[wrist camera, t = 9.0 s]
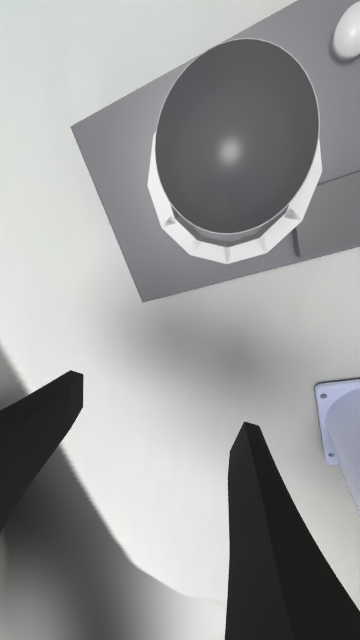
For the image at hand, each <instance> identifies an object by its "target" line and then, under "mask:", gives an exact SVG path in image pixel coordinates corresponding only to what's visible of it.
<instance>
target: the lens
mask: <svg viewBox="0 0 360 640" xmlns="http://www.w3.org/2000/svg"><path fill="white" fill-rule="evenodd" d="M319 131H320V117H319V107H318V102H317V97H316V94H315V91H314V88H313V85H312V83H311V81H310V79H309V77H308V74H307V73H306V71H305V70H304V69H303V67H302V66H301V64H300V63H299V62H298V61H297V60H296V59H295V58H294V57H293V56H292V55H291V54H290V53H289V52H287V51H286V50H284V49H283V48H282V47H280V46H278V45H276V44H273V43H271V42H269V41H264V40H260V39H252V38H242V39H234V40H230V41H227V42H224V43H220V44H218V45H216V46H214V47H212V48H210V49H208V50H207V51H205V52H204V53H202V54H201V55H199V56H198V57H197V58H196V59H195V60H193V61H192V62H191V63H190V64H189V65H188V66H187V67H186V68H185V69H184V71H183V72H182V73H181V74H180V75H179V77H178V78H177V80H176V81H175V83H174V84H173V86H172V87H171V89H170V91H169V93H168V95H167V97H166V99H165V101H164V104H163V106H162V109H161V112H160V115H159V119H158V123H157V128H156V135H155V163H156V169H157V174H158V177H159V181H160V184H161V186H162V189H163V191H164V193H165V195H166V197H167V199H168V201H169V202H170V204H171V205H172V206H173V208H174V209H175V210H176V211H177V212H178V214H179V215H180V216H181V217H183V218H184V219H185V220H186V221H187V222H189V223H190V224H192V225H194V226H195V227H197V228H199V229H202V230H204V231H207V232H211V233H216V234H238V233H243V232H247V231H250V230H253V229H255V228H258V227H260V226H262V225H264V224H265V223H267V222H269V221H270V220H272V219H273V218H275V217H276V216H277V215H278V214H280V213H281V212H282V211H283V210H284V209H285V208H286V207H287V206H288V205H289V204H290V203H291V201H292V200H293V199H294V198H295V196H296V195H297V194H298V192H299V191H300V189H301V188H302V186H303V184H304V183H305V181H306V179H307V177H308V175H309V172H310V170H311V168H312V165H313V162H314V159H315V156H316V152H317V147H318V141H319Z"/></svg>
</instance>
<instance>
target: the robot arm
mask: <svg viewBox="0 0 360 640" xmlns="http://www.w3.org/2000/svg"><path fill="white" fill-rule="evenodd" d="M315 393H316V400H317V407H318V414H319V421H320V428H321V435H322V442H323V449H324V456H325V461H326V463H327V464H328V465H340V468H341V470H342V473H343V475H344V478H345V480H346V483H347V485H348V488H349V490H350V493H351V495H352V498H353V500H354V503H355V505H356V508H357V510H358V513H359V515H360V379H356V380H348V381H339V382H331V383H322V384H318V385H317V386H316V387H315ZM321 394H325V395H321ZM82 408H83V374H81V373H77V372H74V371H71V370H70V371H69V372H67V373H65V374H63V375H62V376H60V377H58V378H57V379H55V380H53V381H52V382H50V383H48V384H47V385H45V386H43V387H42V388H40V389H38V390H37V391H35V392H33V393H31V394H30V395H28V396H26V397H24V398H23V399H21V400H19V401H17V402H16V403H14V404H12V405H10V406H8V407H6V408H4V409H2V410H0V532H1V531H2V529H3V527H4V525H5V524H6V522H7V520H8V519H9V517H10V515H11V514H12V512H13V510H14V509H15V507H16V506H17V504H18V502H19V501H20V499H21V498H22V496H23V494H24V492H25V491H26V489H27V488H28V486H29V485H30V484H31V482H32V481H33V479H34V478H35V476H36V475H37V473H38V472H39V471H40V470H41V468H42V467H43V466H44V464H45V463H46V461H47V460H48V459H49V457H50V456H51V455H52V453H53V452H54V451H55V449H56V448H57V446H58V445H59V444H60V442H61V441H62V440H63V438H64V437H65V435H66V434H67V433H68V431H69V430H70V428H71V427H72V425H73V423H74V422H75V420H76V418H77V416H78V415H79V413H80V411H81V409H82ZM228 502H229V537H230V560H229V580H228V598H227V614H226V630H225V640H360V611H359V610H358V608H357V607H356V605H355V604H354V602H353V601H352V599H351V598H350V596H349V595H348V593H347V592H346V590H345V589H344V587H343V586H342V584H341V583H340V581H339V580H338V578H337V577H336V575H335V573H334V572H333V570H332V569H331V567H330V565H329V564H328V562H327V561H326V559H325V557H324V556H323V554H322V552H321V551H320V549H319V547H318V546H317V544H316V542H315V541H314V539H313V537H312V535H311V534H310V532H309V530H308V528H307V527H306V525H305V523H304V521H303V519H302V517H301V516H300V514H299V512H298V510H297V508H296V506H295V504H294V502H293V500H292V498H291V496H290V494H289V492H288V490H287V488H286V486H285V484H284V482H283V480H282V478H281V476H280V473H279V471H278V469H277V467H276V465H275V462H274V460H273V458H272V456H271V453H270V451H269V449H268V446H267V444H266V441H265V439H264V436H263V434H262V431H261V429H260V427H259V426H258V425H255V424H251V423H248V422H244V423H243V425H242V427H241V429H240V432H239V434H238V436H237V438H236V440H235V442H234V444H233V446H232V448H231V450H230V457H229V470H228Z"/></svg>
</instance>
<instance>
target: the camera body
mask: <svg viewBox="0 0 360 640" xmlns="http://www.w3.org/2000/svg"><path fill="white" fill-rule="evenodd" d="M242 38H252V39H260V40H264V41H269V42H271V43H273V44H276V45H278V46H280V47H282V48H283V49H284V50H286V51H287V52H289V53H290V54H291V55H292V56H293V57H294V58H295V59H296V60H297V61H298V62H299V63H300V64H301V66H302V67H303V69H304V70H305V71H306V73H307V74H308V77H309V79H310V81H311V83H312V85H313V88H314V91H315V94H316V97H317V102H318V107H319V117H320V131H319V141H318V147H317V152H316V156H315V159H314V162H313V165H312V168H311V170H310V172H309V175H308V177H307V179H306V181H305V183H304V184H303V186H302V188H301V189H300V191H299V192H298V194H297V195H296V196H295V198H294V199H293V200H292V201H291V203H290V204H289V205H288V206H287V207H286V208H285V209H284V210H283V211H282V212H281V213H280V214H278V215H277V216H276V217H275V218H273V219H272V220H270V221H269V222H267V223H265V224H264V225H262V226H260V227H258V228H255V229H253V230H250V231H247V232H243V233H238V234H216V233H211V232H207V231H204V230H202V229H199V228H197V227H195V226H194V225H192V224H190V223H189V222H187V221H186V220H185V219H184V218H183V217H181V216H180V215H179V214H178V212H177V211H176V210H175V209H174V208H173V206H172V205H171V204H170V202H169V201H168V199H167V197H166V195H165V193H164V191H163V189H162V186H161V184H160V181H159V177H158V174H157V169H156V163H155V135H156V128H157V123H158V119H159V115H160V112H161V109H162V106H163V104H164V101H165V99H166V97H167V95H168V93H169V91H170V89H171V87H172V86H173V84H174V83H175V81H176V80H177V78H178V77H179V75H180V74H181V73H182V72H183V71H184V69H185V68H186V67H187V66H188V65H189V64H190V63H191V62H192V61H193V60H195V59H196V58H197V57H198V56H197V57H195V58H193V59H191V60H190V61H188V62H186V63H184V64H182V65H181V66H179V67H177V68H175V69H173V70H172V71H170V72H168V73H166V74H164V75H163V76H161V77H159V78H157V79H155V80H154V81H152V82H150V83H148V84H146V85H145V86H143V87H141V88H139V89H137V90H136V91H134V92H132V93H130V94H128V95H127V96H125V97H123V98H121V99H119V100H118V101H116V102H114V103H112V104H110V105H109V106H107V107H105V108H103V109H101V110H100V111H98V112H96V113H94V114H92V115H91V116H89V117H87V118H85V119H83V120H82V121H80V122H78V123H76V124H74V125H73V126H71V129H72V132H73V134H74V137H75V139H76V142H77V144H78V146H79V149H80V151H81V154H82V156H83V159H84V161H85V163H86V166H87V168H88V171H89V173H90V176H91V178H92V180H93V183H94V185H95V188H96V190H97V193H98V195H99V198H100V200H101V202H102V205H103V207H104V210H105V212H106V215H107V217H108V219H109V222H110V224H111V227H112V229H113V232H114V234H115V236H116V239H117V241H118V244H119V246H120V249H121V251H122V254H123V256H124V258H125V261H126V263H127V266H128V268H129V271H130V273H131V275H132V278H133V280H134V283H135V285H136V288H137V290H138V292H139V295H140V297H141V300H142V302H147V301H150V300H154V299H158V298H162V297H166V296H170V295H174V294H178V293H181V292H185V291H189V290H193V289H197V288H201V287H205V286H209V285H212V284H216V283H220V282H224V281H228V280H232V279H236V278H240V277H243V276H247V275H251V274H255V273H259V272H263V271H267V270H271V269H274V268H278V267H282V266H286V265H290V264H294V263H298V262H302V261H306V260H309V259H313V258H317V257H321V256H325V255H329V254H333V253H337V252H340V251H344V250H348V249H352V248H356V247H360V0H298V1H296V2H294V3H292V4H290V5H289V6H287V7H285V8H283V9H281V10H280V11H278V12H276V13H274V14H272V15H271V16H269V17H267V18H265V19H263V20H262V21H260V22H258V23H256V24H254V25H253V26H251V27H249V28H247V29H245V30H244V31H242V32H240V33H238V34H236V35H235V36H233V37H231V38H229V39H227V40H226V41H224V42H227V41H230V40H234V39H242ZM224 42H222V43H224ZM200 55H201V54H200Z"/></svg>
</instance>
